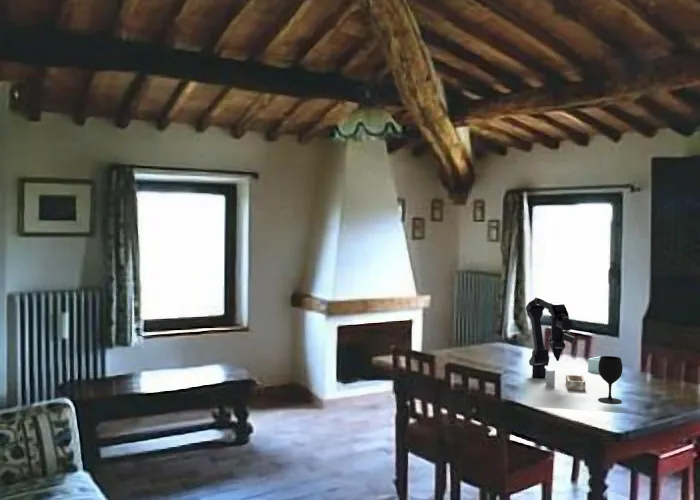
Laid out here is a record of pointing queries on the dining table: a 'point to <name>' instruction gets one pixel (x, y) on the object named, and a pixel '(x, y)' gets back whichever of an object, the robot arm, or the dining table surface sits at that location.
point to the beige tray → (575, 382)
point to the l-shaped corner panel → (593, 364)
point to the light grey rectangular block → (550, 378)
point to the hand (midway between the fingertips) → (556, 359)
